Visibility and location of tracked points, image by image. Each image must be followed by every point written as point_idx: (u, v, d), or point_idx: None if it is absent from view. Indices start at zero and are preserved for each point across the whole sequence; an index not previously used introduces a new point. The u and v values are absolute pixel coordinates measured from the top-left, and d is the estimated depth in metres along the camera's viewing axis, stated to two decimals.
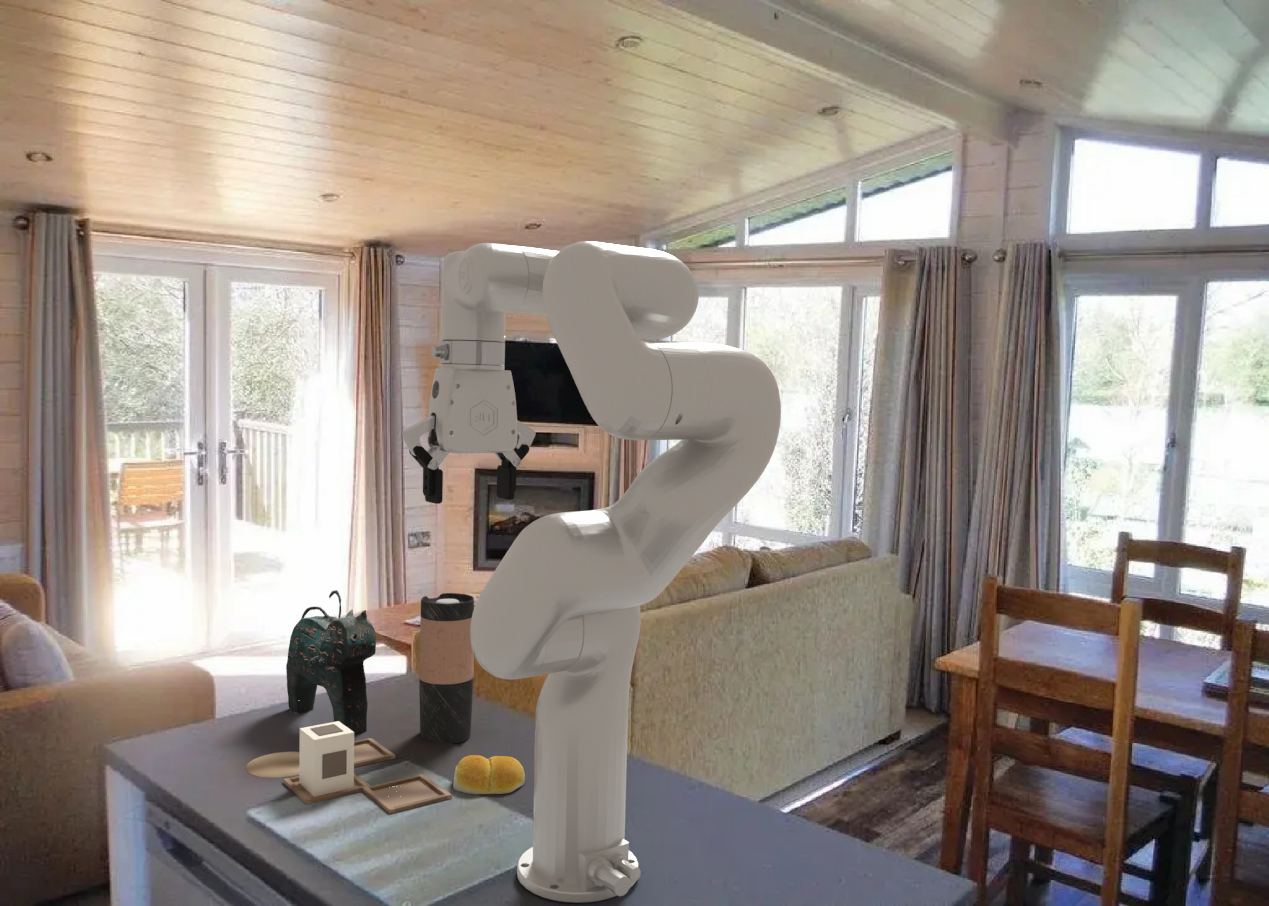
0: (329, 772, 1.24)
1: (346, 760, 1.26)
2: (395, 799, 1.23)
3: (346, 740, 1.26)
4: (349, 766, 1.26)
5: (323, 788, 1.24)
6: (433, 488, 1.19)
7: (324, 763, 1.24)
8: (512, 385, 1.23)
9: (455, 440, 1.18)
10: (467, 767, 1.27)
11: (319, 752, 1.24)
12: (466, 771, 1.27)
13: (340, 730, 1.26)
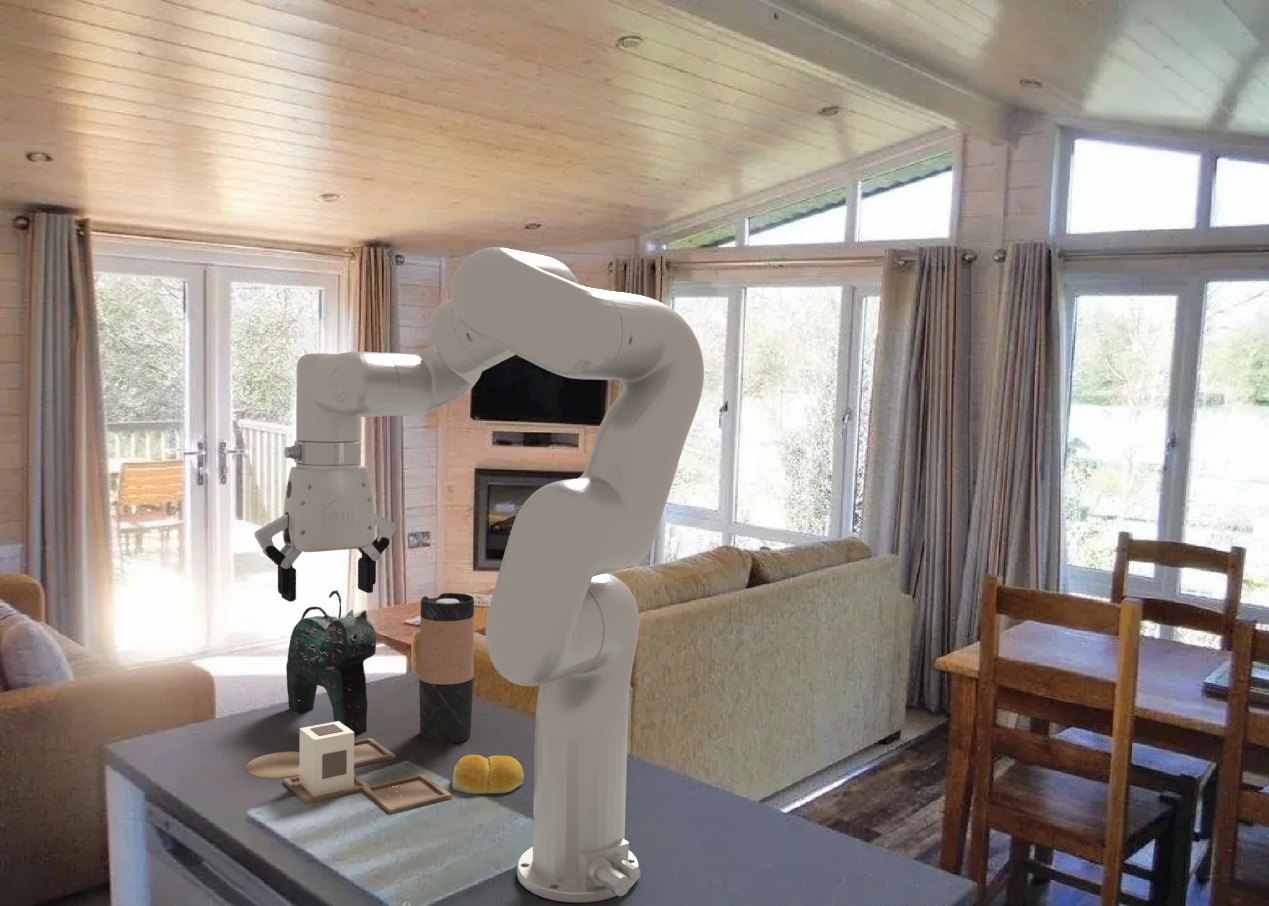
0: (329, 772, 1.24)
1: (346, 760, 1.26)
2: (395, 799, 1.23)
3: (346, 740, 1.26)
4: (349, 766, 1.26)
5: (323, 788, 1.24)
6: (287, 586, 1.21)
7: (324, 763, 1.24)
8: (368, 482, 1.25)
9: (307, 540, 1.21)
10: (466, 766, 1.27)
11: (319, 752, 1.24)
12: (465, 770, 1.27)
13: (340, 730, 1.26)
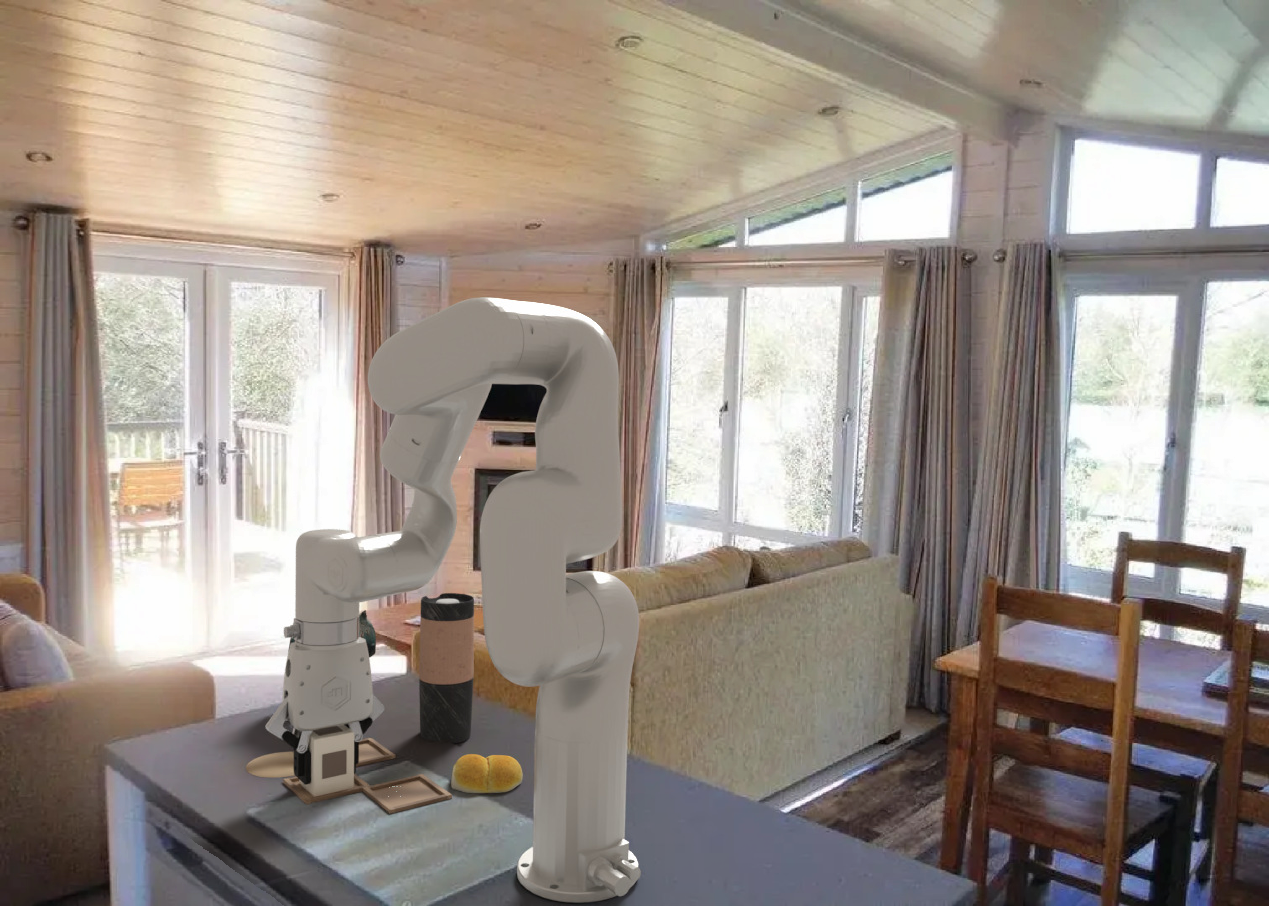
0: (329, 772, 1.25)
1: (345, 760, 1.26)
2: (395, 799, 1.23)
3: (346, 740, 1.26)
4: (349, 766, 1.26)
5: (323, 788, 1.24)
6: (302, 769, 1.24)
7: (324, 763, 1.24)
8: (366, 656, 1.26)
9: (306, 719, 1.22)
10: (465, 766, 1.27)
11: (319, 752, 1.24)
12: (464, 770, 1.27)
13: (340, 730, 1.26)
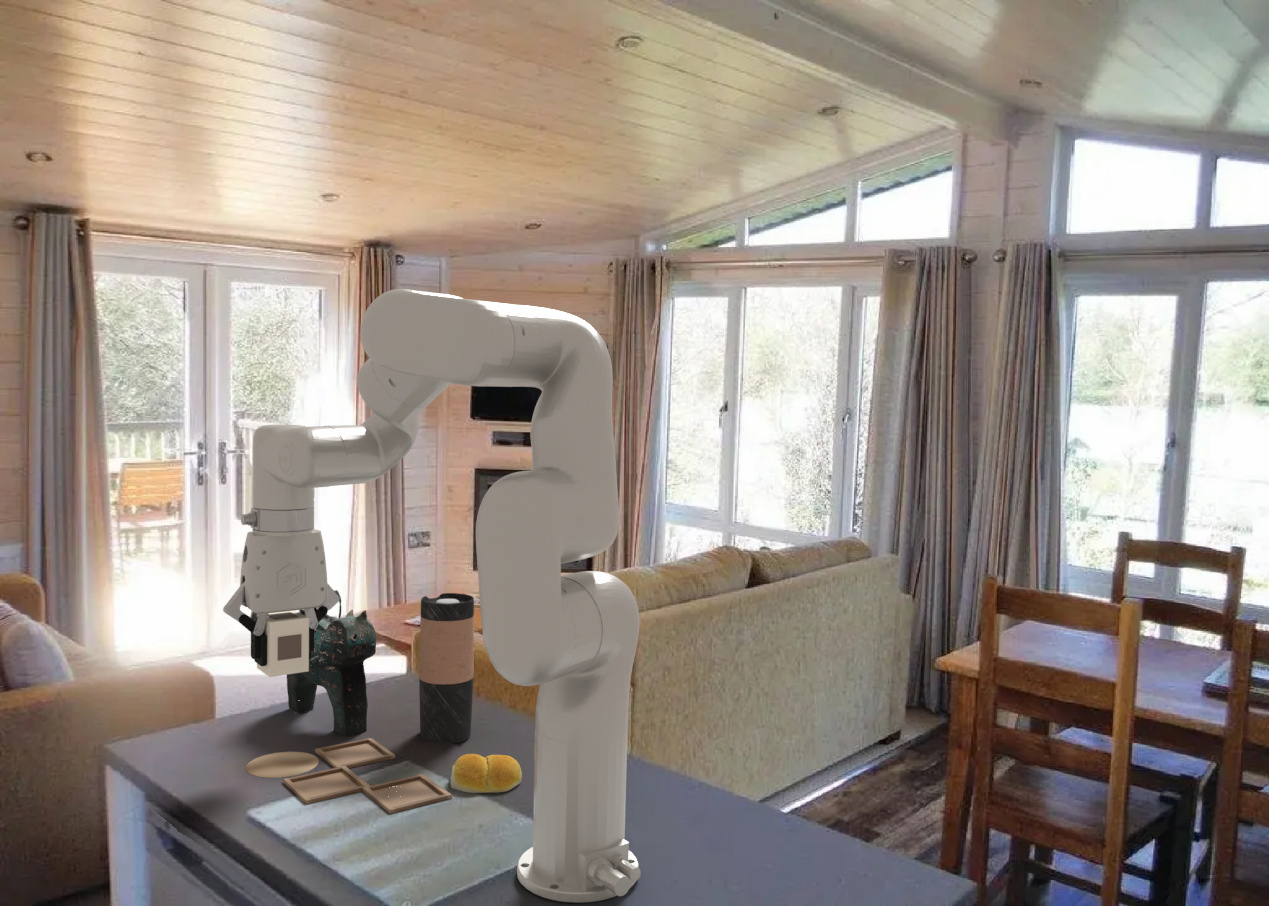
0: (285, 654, 1.30)
1: (300, 644, 1.31)
2: (395, 799, 1.23)
3: (301, 625, 1.31)
4: (304, 650, 1.32)
5: (278, 669, 1.30)
6: (259, 652, 1.30)
7: (280, 646, 1.30)
8: (321, 546, 1.32)
9: (262, 602, 1.28)
10: (464, 765, 1.28)
11: (274, 634, 1.29)
12: (464, 770, 1.27)
13: (295, 616, 1.32)
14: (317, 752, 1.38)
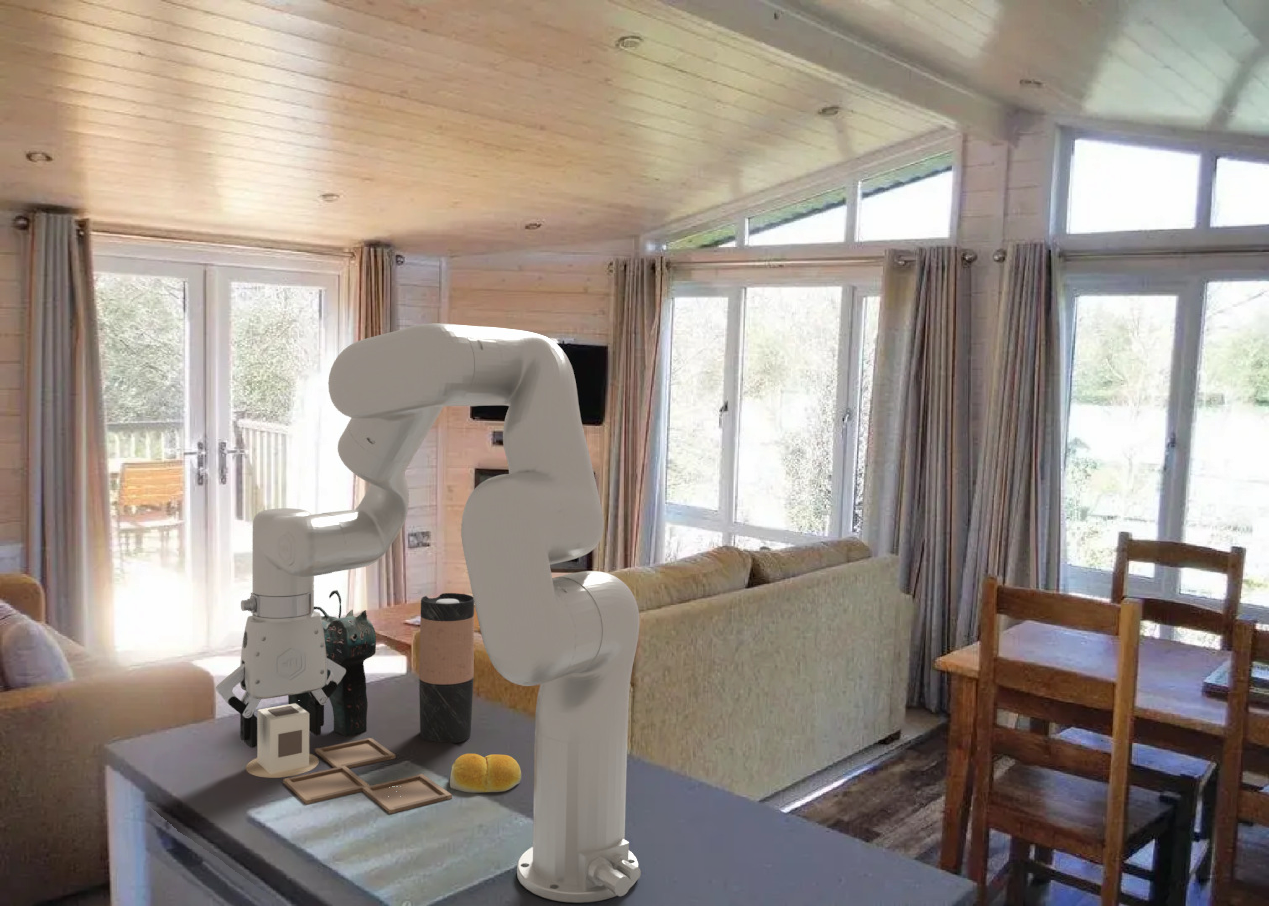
0: (285, 751, 1.31)
1: (301, 740, 1.32)
2: (395, 799, 1.23)
3: (301, 721, 1.32)
4: (304, 745, 1.33)
5: (279, 766, 1.31)
6: (248, 733, 1.30)
7: (280, 742, 1.31)
8: (321, 629, 1.33)
9: (262, 688, 1.29)
10: (464, 765, 1.28)
11: (275, 732, 1.30)
12: (463, 769, 1.27)
13: (296, 711, 1.33)
14: (317, 752, 1.38)
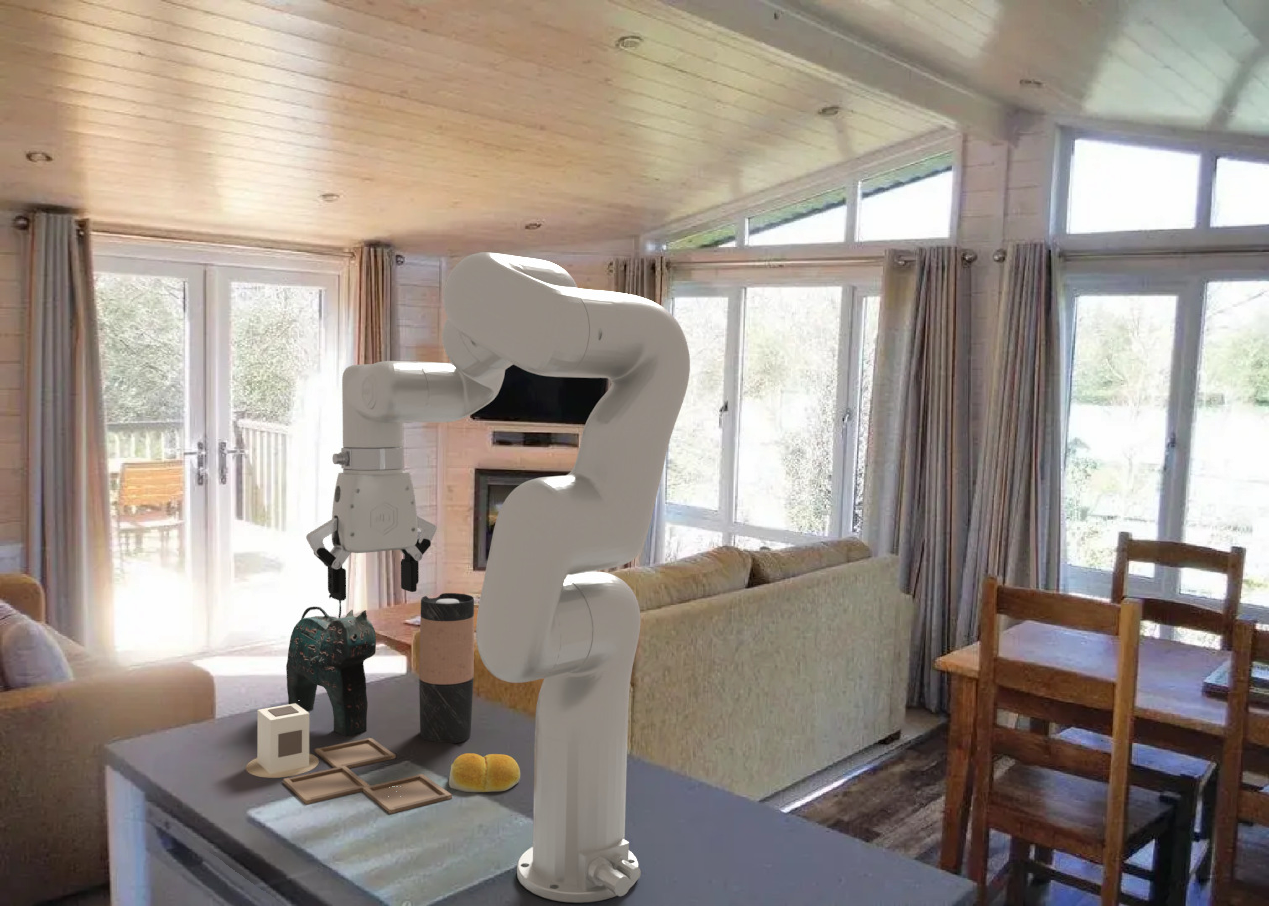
0: (285, 751, 1.31)
1: (301, 740, 1.32)
2: (395, 799, 1.23)
3: (301, 721, 1.32)
4: (304, 745, 1.33)
5: (279, 766, 1.31)
6: (337, 586, 1.28)
7: (280, 742, 1.31)
8: (411, 486, 1.32)
9: (356, 541, 1.27)
10: (463, 765, 1.28)
11: (275, 732, 1.30)
12: (462, 769, 1.27)
13: (296, 711, 1.33)
14: (317, 752, 1.38)
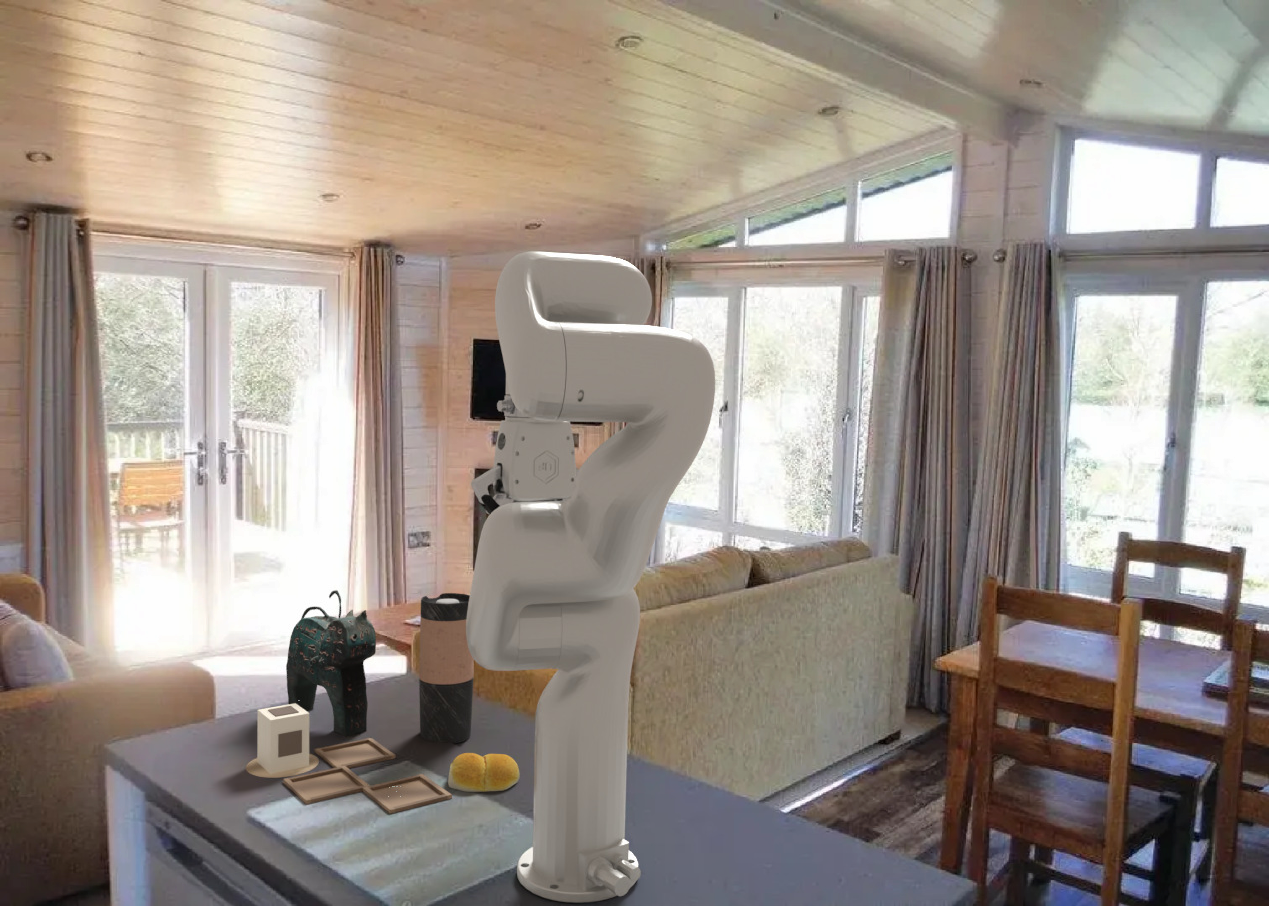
0: (285, 751, 1.31)
1: (301, 740, 1.32)
2: (395, 799, 1.23)
3: (301, 721, 1.32)
4: (304, 745, 1.33)
5: (279, 766, 1.31)
6: None
7: (280, 742, 1.31)
8: (571, 436, 1.31)
9: (520, 489, 1.26)
10: (462, 765, 1.28)
11: (275, 732, 1.30)
12: (461, 769, 1.27)
13: (296, 711, 1.33)
14: (317, 752, 1.38)
